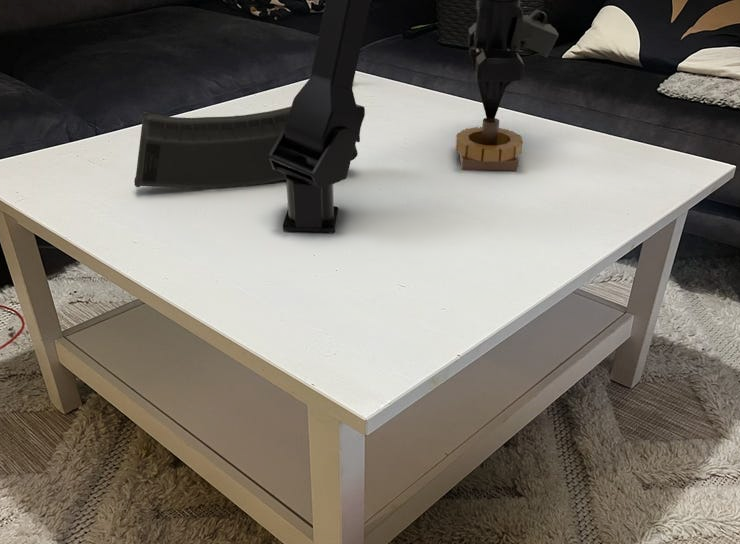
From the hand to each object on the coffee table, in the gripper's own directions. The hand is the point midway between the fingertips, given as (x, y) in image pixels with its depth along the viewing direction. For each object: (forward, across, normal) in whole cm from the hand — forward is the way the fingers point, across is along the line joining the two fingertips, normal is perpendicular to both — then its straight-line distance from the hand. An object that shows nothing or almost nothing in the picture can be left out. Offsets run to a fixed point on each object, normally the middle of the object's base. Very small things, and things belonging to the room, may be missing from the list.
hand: (488, 110), depth 110 cm
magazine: (+5, -15, +34) cm, 38 cm away
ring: (+4, -5, 0) cm, 7 cm away
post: (+6, -5, 0) cm, 8 cm away
